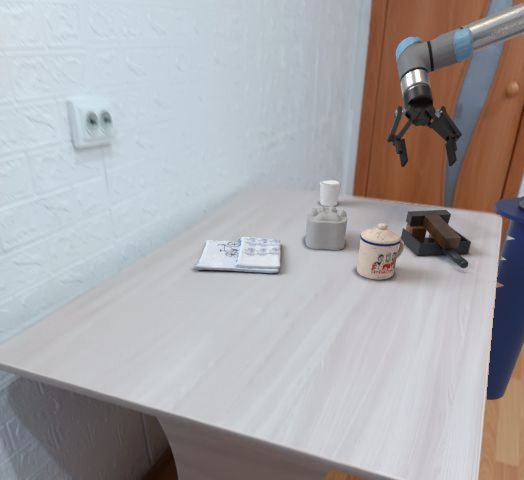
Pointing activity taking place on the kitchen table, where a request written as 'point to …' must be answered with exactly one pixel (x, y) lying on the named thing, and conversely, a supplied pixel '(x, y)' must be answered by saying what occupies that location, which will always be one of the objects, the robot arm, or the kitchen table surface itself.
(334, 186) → the white cup
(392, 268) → the teacup with lid
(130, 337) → the kitchen table surface
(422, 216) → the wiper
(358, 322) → the kitchen table surface
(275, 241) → the folded kitchen towel
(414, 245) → the dustpan
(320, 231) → the grey rounded block
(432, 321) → the kitchen table surface
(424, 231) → the brown cube
